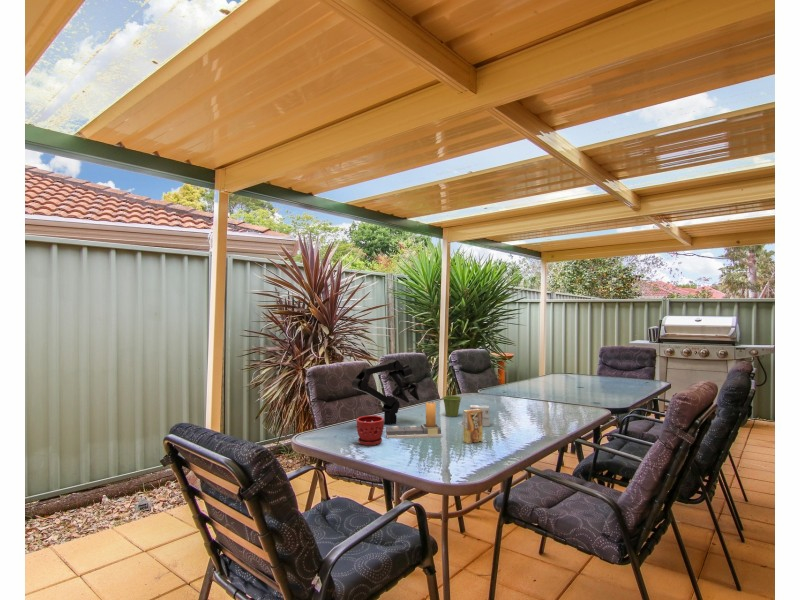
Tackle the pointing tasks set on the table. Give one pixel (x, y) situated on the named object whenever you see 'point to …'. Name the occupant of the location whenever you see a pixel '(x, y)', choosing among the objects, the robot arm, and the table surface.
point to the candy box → (472, 425)
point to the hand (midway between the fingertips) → (413, 401)
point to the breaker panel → (413, 432)
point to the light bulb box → (483, 413)
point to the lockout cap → (430, 414)
